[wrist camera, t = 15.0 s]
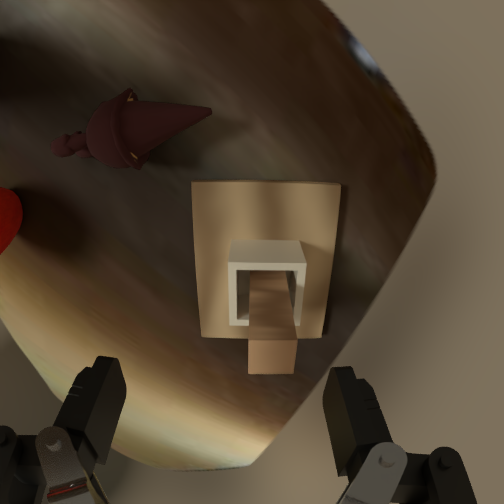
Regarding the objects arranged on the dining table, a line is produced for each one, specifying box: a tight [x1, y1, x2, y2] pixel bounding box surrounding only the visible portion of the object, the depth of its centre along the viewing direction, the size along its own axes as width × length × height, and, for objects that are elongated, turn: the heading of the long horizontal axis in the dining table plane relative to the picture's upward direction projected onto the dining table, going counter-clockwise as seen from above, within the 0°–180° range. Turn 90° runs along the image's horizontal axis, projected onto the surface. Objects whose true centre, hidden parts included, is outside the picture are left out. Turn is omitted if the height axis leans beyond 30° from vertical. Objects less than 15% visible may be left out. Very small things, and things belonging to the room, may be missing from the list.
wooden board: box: [191, 180, 341, 338], centre depth 33 cm, size 14×18×1 cm
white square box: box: [228, 239, 307, 326], centre depth 31 cm, size 7×7×5 cm
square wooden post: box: [248, 270, 298, 374], centre depth 27 cm, size 3×3×12 cm
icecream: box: [51, 88, 212, 170], centre depth 25 cm, size 7×7×15 cm
